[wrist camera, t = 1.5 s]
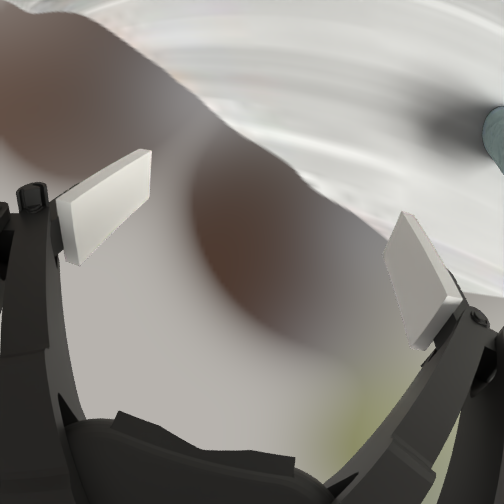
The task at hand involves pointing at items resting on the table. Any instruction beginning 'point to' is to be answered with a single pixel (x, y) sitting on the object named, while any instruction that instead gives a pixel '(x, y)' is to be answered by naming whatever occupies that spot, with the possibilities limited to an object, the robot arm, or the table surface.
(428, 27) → the table surface
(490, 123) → the grey teal cup
